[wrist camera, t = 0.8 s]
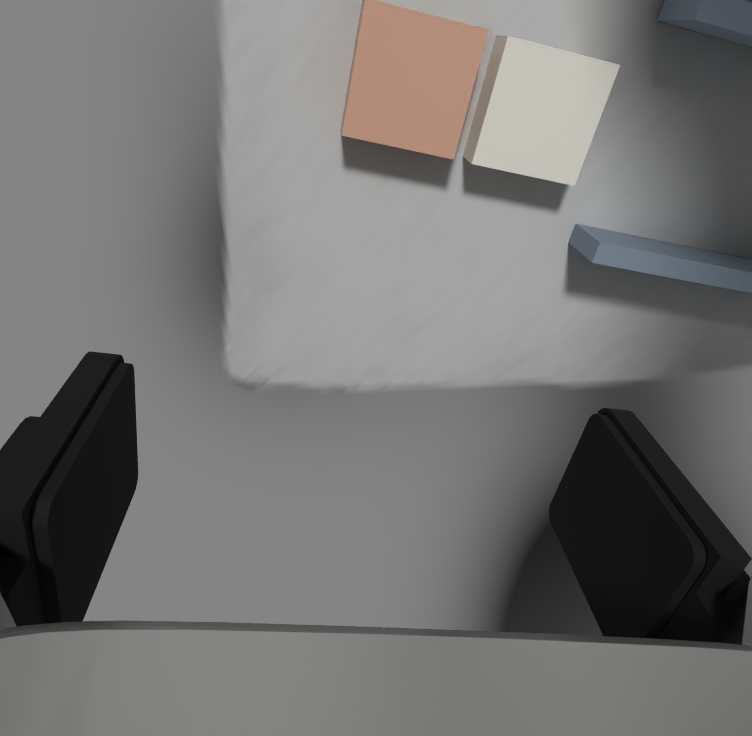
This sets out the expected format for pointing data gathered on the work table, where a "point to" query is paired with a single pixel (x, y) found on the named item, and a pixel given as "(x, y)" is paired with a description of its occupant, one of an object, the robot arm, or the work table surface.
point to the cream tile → (538, 110)
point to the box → (729, 22)
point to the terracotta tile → (411, 79)
